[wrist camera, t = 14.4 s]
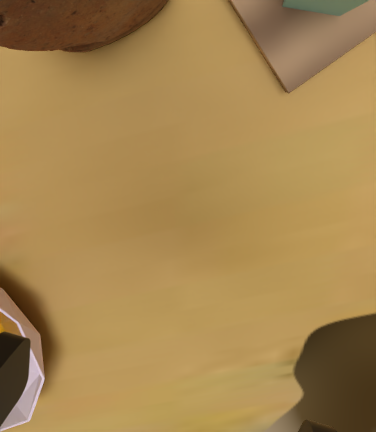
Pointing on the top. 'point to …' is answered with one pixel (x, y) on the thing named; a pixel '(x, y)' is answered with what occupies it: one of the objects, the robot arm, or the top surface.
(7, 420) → the fruit bowl
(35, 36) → the block
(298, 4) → the post
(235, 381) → the top surface
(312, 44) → the slab
